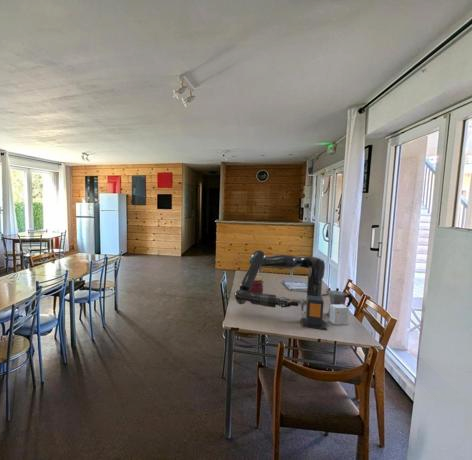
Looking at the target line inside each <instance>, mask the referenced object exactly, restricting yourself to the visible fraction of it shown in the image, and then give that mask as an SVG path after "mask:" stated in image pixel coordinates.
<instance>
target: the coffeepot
mask: <svg viewBox="0 0 472 460" xmlns="http://www.w3.org/2000/svg"><path fill="white" fill-rule="evenodd" d="M325 292H326V294H328V295H327V296H328V298H329V303H330V304H329V307H328V311H327V316H328V317H330V305H335V304H343V305H344V302H345V298H349V299H348V302H347V303H346V304H345V306H346V307H348V308H349V307H350V306H351V304H352V302H353V300H354V297H353V296H352V295H351V294H349V293H346V292H344V291H340V288H339V287H336V288H335V290H330V291H329V290H325Z"/></svg>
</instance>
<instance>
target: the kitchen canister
mask: <svg viewBox="0 0 472 460" xmlns="http://www.w3.org/2000/svg"><path fill="white" fill-rule="evenodd" d="M263 284H264V280H263V277H261V275H256V277H255V279H254V282H253V284H252V287H251V289H250V291H249V292H252V293H258V294H264V285H263Z"/></svg>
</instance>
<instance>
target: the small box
mask: <svg viewBox="0 0 472 460" xmlns="http://www.w3.org/2000/svg"><path fill="white" fill-rule="evenodd" d="M345 305H346V304H345ZM345 305H344V303H343V304H335V305H330V304H329V307H330V316H329V322H330V323H331V324H332V325H335V326H339V325H340V326H342V325H343V326H344V325H345V326H346V325H349V324H348V323H349V322H348V321H349V307H346V306H345Z"/></svg>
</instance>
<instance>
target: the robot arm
mask: <svg viewBox="0 0 472 460" xmlns="http://www.w3.org/2000/svg"><path fill="white" fill-rule="evenodd" d="M248 262H249V264H250V265H249V267H248V269H247V270H246V272H245V273H244V276H243V278H242V279H241V282H240V285H239V289H237V290H236V291H235V292H234V298H235V302H236V303H237V304H238V305H245V304H246V303H247V302H249V303H250V304H251V305H254V306H255V305H256V306H262V307H266V308H267V307H268V308H276V306H279V307H281V308H290V307H299V301H293V300H291V299H289V298H287V297H283V296H282V297H277V294H269V293H263V294H258V293H252V292H249V291H250V289H251V287H252V284H253V282H254V279H255V277H256V275H257V274H258V273H259V271H260V269H261V268H263V267H264V268H265V267H268V268H269V267H270V268H281V269H296V268H305V269H308V270H309V269H310V270H311V271H310V274H308V275H307V285H306V286H307V291H306V296H307V295H310V296H319V297H323V296H329V295H328V294H327V293H323V294H322V290H323V278H324V276H325V268H326V263H325V261H324V260H323V259H322V258H320V257H317V256H297V255H293V254H292V255H291V254H277V255H271V256H267V255H266V253H265V252H264V251H263V250H255V251H254V252H253V253H251V255H250V256H249V258H248ZM257 276H258V275H257ZM328 291H331V287H329V288H328ZM305 299H306V301H305V302H306V304H307V298H305Z"/></svg>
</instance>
